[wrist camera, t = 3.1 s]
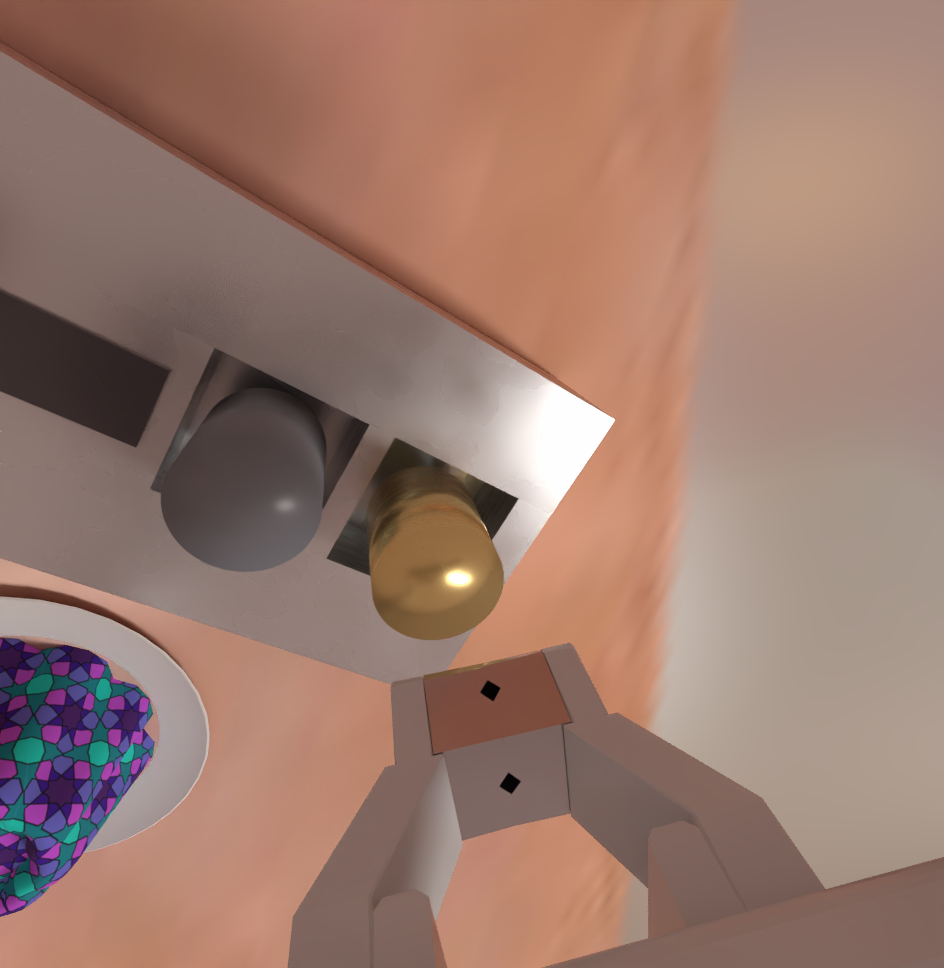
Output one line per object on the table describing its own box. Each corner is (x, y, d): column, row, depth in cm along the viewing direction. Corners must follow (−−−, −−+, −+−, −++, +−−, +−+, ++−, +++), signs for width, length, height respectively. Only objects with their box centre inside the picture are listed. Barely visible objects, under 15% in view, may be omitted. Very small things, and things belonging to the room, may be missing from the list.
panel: (413, 610, 22) (428, 698, 18) (-181, 384, 16) (-368, 442, 12) (559, 379, 20) (616, 420, 16) (-75, -4, 13) (-266, -109, 9)
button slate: (295, 518, 16) (283, 591, 13) (180, 471, 15) (136, 538, 11) (346, 422, 15) (348, 475, 12) (230, 365, 14) (197, 406, 11)
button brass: (440, 578, 17) (461, 656, 14) (347, 539, 16) (347, 614, 13) (493, 494, 17) (528, 557, 13) (399, 448, 16) (413, 505, 12)
